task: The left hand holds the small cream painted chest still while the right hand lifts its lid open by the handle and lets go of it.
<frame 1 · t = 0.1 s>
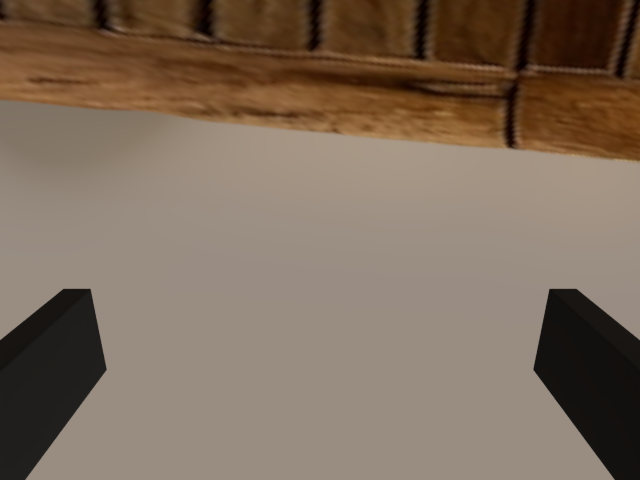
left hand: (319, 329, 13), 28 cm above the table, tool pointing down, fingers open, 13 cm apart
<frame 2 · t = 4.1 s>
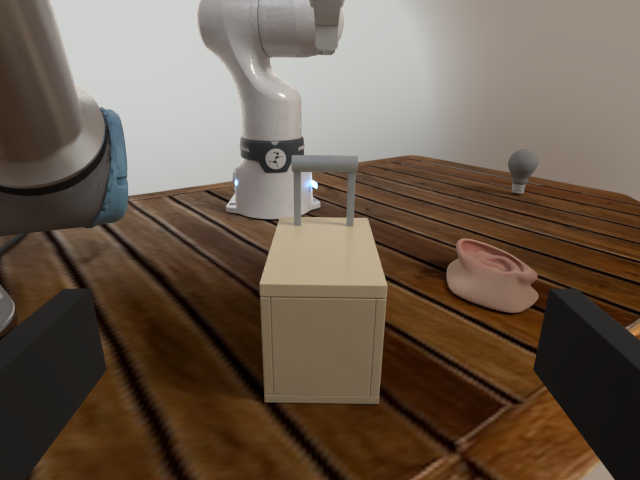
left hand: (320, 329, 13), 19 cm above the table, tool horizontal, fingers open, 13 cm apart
lid: (324, 213, 39), point 14 cm above the table, hinge at 0.0°
chest: (322, 348, 44), on the table
anatomical model: (489, 286, 57), on the table
light bulb: (517, 194, 100), on the table
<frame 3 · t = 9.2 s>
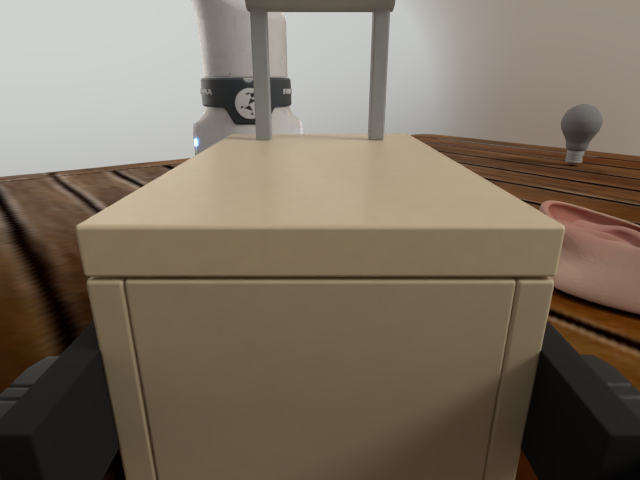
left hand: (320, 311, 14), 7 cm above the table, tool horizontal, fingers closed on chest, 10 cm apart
lid: (320, 69, 15), point 14 cm above the table, hinge at 0.0°
chest: (320, 408, 20), on the table, touching left hand
anatomical model: (608, 276, 33), on the table
light bulb: (572, 165, 76), on the table
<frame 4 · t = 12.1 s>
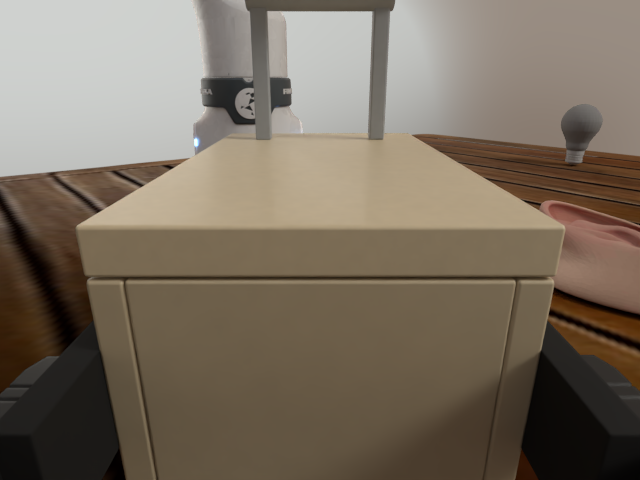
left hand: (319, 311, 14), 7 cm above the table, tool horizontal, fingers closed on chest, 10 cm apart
lid: (320, 69, 15), point 14 cm above the table, hinge at 0.1°, touching right hand
chest: (320, 408, 20), on the table, touching left hand
anatomical model: (608, 276, 33), on the table
light bulb: (572, 165, 76), on the table
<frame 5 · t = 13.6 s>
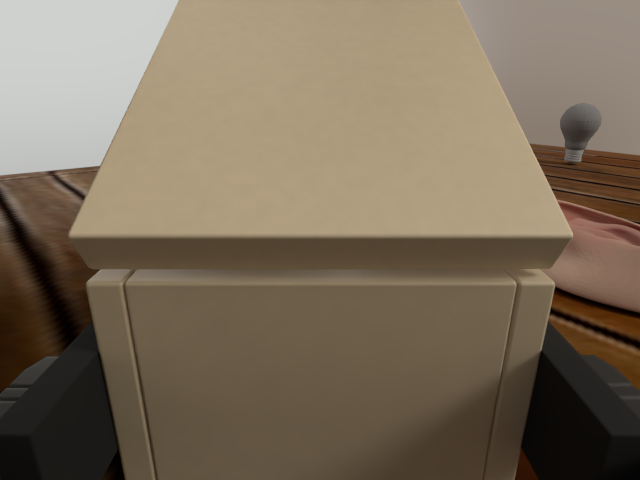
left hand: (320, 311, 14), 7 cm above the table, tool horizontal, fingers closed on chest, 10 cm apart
chest: (318, 407, 20), on the table, touching left hand
anatomical model: (606, 275, 33), on the table
light bulb: (571, 164, 76), on the table
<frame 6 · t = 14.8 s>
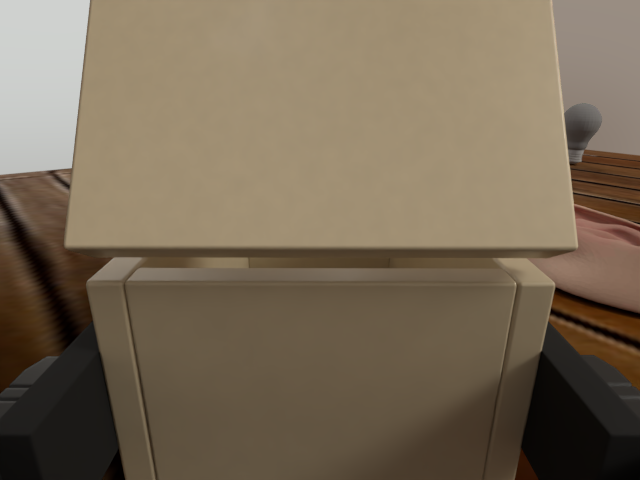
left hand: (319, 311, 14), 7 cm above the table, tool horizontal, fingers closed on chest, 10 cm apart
chest: (319, 407, 20), on the table, touching left hand
anatomical model: (606, 275, 33), on the table
light bulb: (572, 164, 76), on the table
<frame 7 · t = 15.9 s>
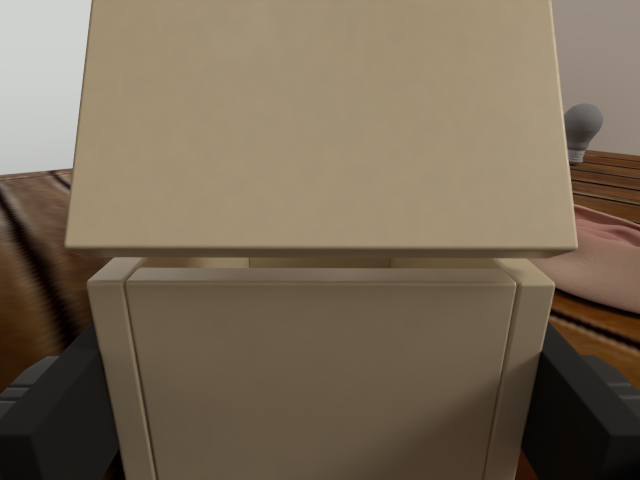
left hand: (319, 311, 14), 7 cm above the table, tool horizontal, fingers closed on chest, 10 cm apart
chest: (319, 407, 20), on the table, touching left hand
anatomical model: (608, 276, 33), on the table
light bulb: (573, 164, 76), on the table
when the left hand's fingers open (7 cm above the table, at t = 19.5 s): chest stays where it is, on the table.
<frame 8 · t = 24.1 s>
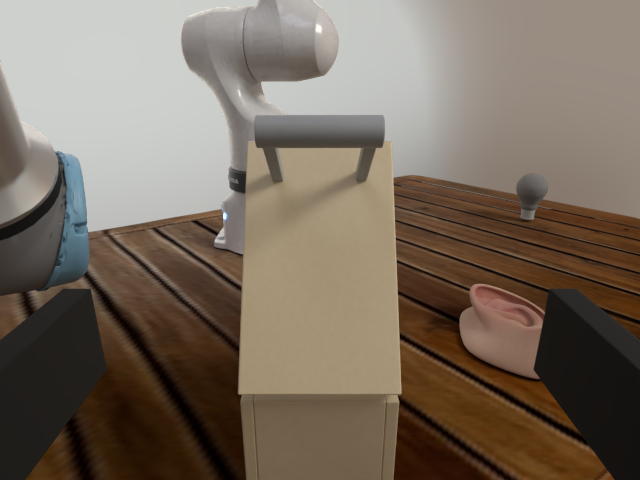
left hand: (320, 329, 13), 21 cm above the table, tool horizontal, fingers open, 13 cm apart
lid: (319, 250, 24), point 19 cm above the table, hinge at 57.7°
chest: (319, 434, 37), on the table
anatomical model: (509, 341, 50), on the table
light bulb: (526, 220, 93), on the table
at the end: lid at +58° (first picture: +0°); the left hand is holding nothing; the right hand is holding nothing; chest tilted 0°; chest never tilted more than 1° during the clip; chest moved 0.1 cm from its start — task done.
